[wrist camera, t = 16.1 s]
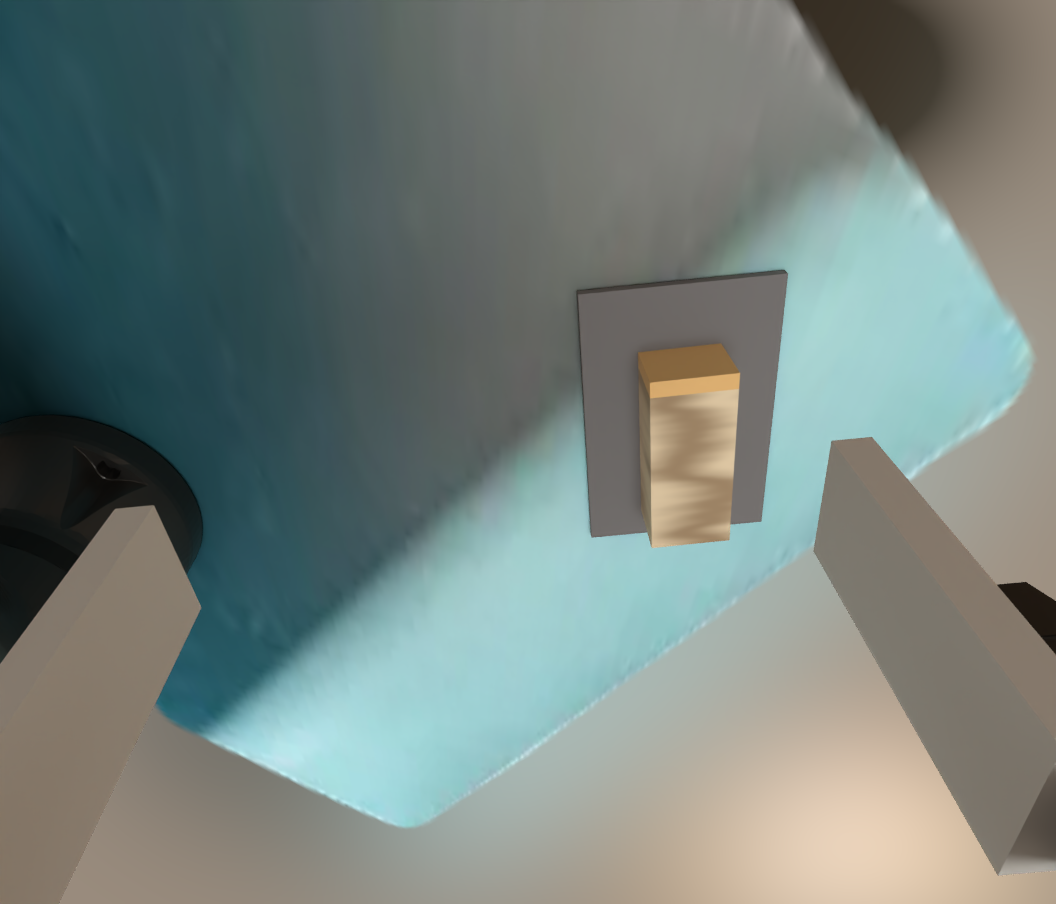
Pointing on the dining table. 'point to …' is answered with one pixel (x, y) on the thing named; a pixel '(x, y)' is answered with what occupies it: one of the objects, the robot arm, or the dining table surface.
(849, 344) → the dining table surface
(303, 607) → the dining table surface
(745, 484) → the rubber mat
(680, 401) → the maple block
